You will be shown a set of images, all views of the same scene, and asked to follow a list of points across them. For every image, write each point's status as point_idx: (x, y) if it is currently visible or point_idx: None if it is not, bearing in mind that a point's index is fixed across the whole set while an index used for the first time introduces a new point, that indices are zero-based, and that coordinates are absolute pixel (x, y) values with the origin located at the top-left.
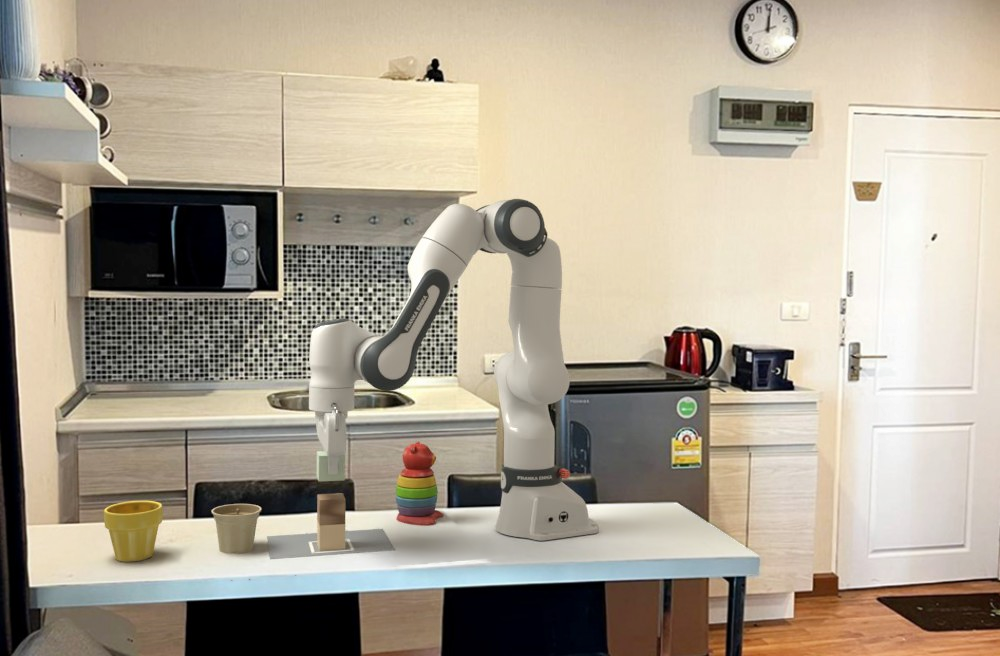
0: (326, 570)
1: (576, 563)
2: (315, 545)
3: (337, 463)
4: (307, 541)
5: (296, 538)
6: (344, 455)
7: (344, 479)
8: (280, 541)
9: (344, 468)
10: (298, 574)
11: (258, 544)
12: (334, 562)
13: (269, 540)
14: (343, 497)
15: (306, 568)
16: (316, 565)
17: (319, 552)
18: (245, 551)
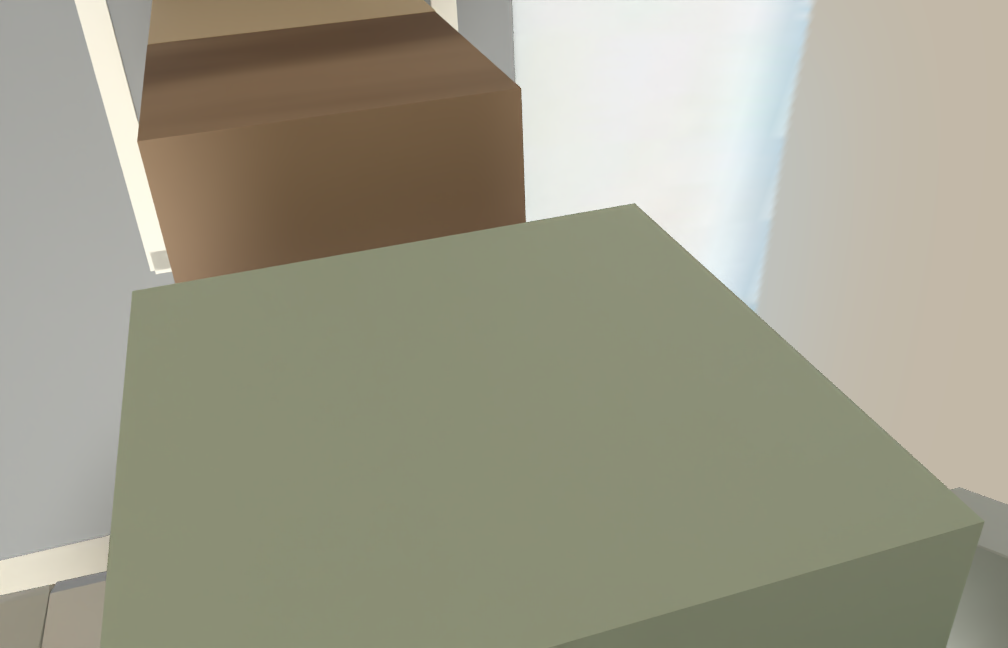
0: (735, 95)
1: None
2: None
3: (1002, 515)
4: (132, 282)
5: (36, 371)
6: (965, 524)
7: (637, 212)
8: None
9: (747, 315)
10: (751, 250)
11: (101, 564)
12: (590, 46)
13: (102, 526)
14: (437, 118)
15: (662, 218)
16: (622, 164)
17: None
18: None
